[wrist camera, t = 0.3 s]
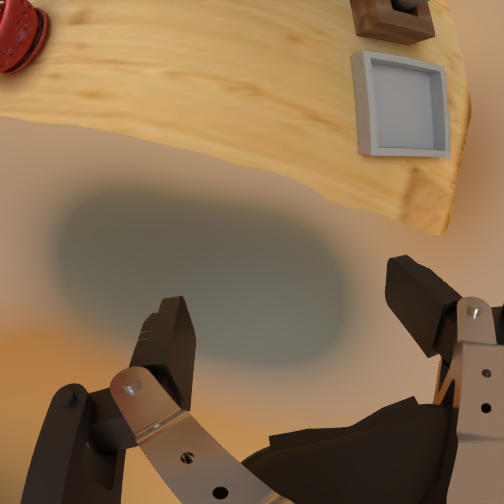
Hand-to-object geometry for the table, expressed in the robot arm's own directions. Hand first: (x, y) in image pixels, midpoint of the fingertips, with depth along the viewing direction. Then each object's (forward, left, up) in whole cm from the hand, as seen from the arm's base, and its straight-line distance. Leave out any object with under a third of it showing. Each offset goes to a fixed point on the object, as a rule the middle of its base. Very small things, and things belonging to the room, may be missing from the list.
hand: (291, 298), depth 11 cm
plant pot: (-29, -32, -29) cm, 52 cm away
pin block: (-24, +22, -29) cm, 43 cm away
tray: (-9, +23, -29) cm, 38 cm away
